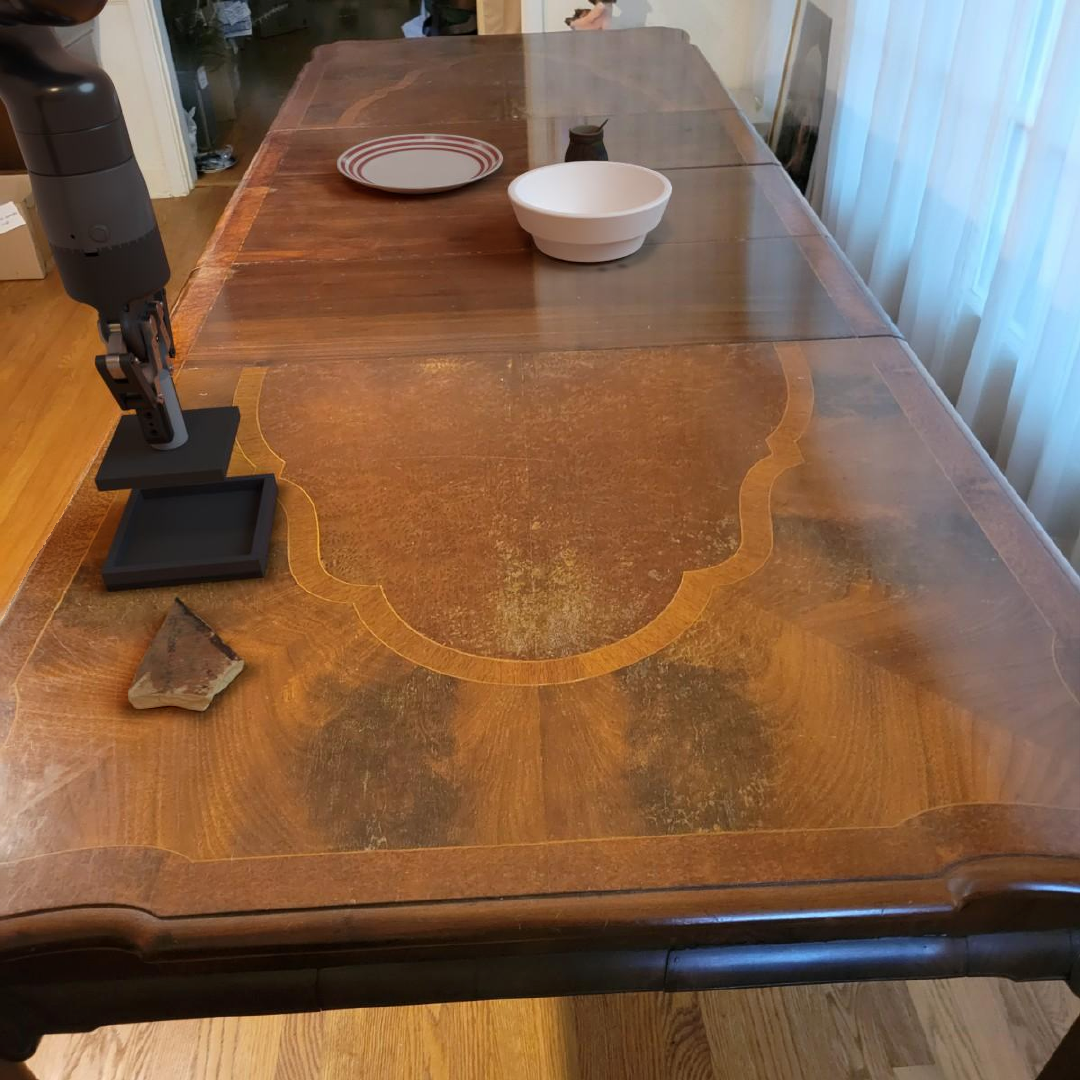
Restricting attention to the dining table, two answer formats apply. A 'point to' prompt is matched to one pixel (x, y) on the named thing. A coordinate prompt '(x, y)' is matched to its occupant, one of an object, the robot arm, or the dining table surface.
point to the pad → (171, 448)
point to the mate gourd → (586, 144)
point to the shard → (183, 664)
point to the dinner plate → (419, 162)
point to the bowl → (589, 208)
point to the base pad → (193, 533)
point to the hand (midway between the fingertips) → (165, 429)
